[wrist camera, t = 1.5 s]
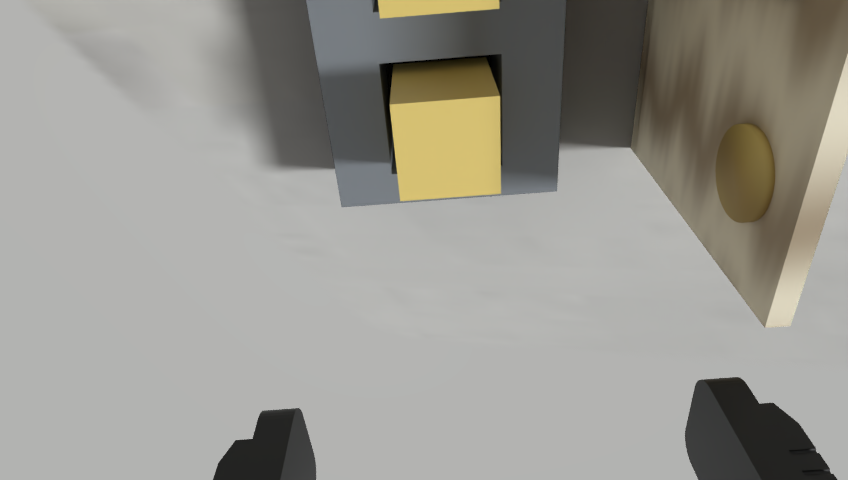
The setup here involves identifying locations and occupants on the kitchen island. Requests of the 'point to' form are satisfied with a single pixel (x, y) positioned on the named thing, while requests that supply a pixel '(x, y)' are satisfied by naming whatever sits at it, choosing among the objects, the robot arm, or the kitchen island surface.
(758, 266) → the card
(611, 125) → the kitchen island surface
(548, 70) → the board
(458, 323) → the kitchen island surface
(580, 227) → the kitchen island surface
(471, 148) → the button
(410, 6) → the button mid
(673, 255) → the kitchen island surface
